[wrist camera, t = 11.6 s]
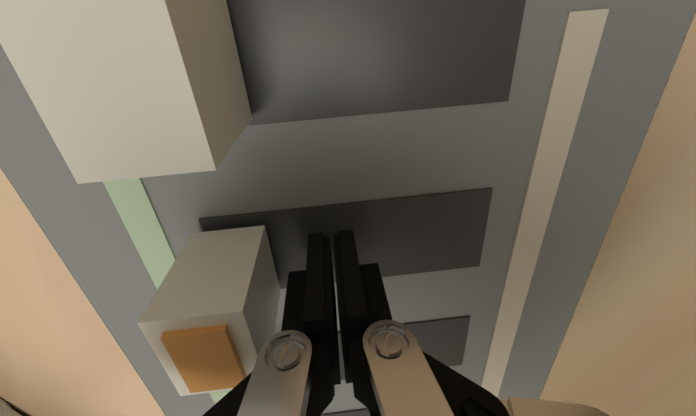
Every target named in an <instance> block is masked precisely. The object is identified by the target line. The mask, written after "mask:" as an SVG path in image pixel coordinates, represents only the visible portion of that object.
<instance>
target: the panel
mask: <svg viewBox="0 0 696 416" xmlns="http://www.w3.org/2000/svg"><path fill="white" fill-rule="evenodd" d="M226 1H227V6H228V11H229V15H230V20H231V24H232V29H233V33H234V38H235V42H236V47H237V51H238V56H239V60H240V65H241V69H242V74H243V78H244V83H245V87H246V92H247V97H248V101H249V106H250V110H251V115H252V120H251V121H250V123H249V124H248V126H247V127H246V128H245V130H244V131H243V133H242V134H241V136H240V137H239V138H238V140H237V141H236V143H235V144H234V145H233V147H232V148H231V150H230V151H229V153H228V154H227V155H226V157H225V158H224V160H223V161H222V163H221V164H220V165H219V167H218V168H217V170H214V171H204V172H194V173H184V174H174V175H164V176H154V177H144V178H134V179H124V180H113V181H103V182H93V183H83V184H77V182H76V180H75V178H74V176H73V175H72V173H71V171H70V169H69V167H68V166H67V164H66V162H65V160H64V158H63V156H62V155H61V153H60V151H59V149H58V147H57V146H56V144H55V142H54V140H53V138H52V137H51V135H50V133H49V131H48V129H47V127H46V126H45V124H44V122H43V120H42V118H41V117H40V115H39V113H38V111H37V109H36V107H35V106H34V104H33V102H32V100H31V98H30V97H29V95H28V93H27V91H26V89H25V88H24V86H23V84H22V82H21V80H20V78H19V77H18V75H17V73H16V71H15V69H14V68H13V66H12V64H11V62H10V60H9V58H8V57H7V55H6V53H5V51H4V49H3V48H2V46H1V44H0V168H1V169H2V171H3V172H4V174H5V175H6V177H7V178H8V180H9V181H10V183H11V184H12V186H13V187H14V189H15V190H16V192H17V193H18V195H19V196H20V198H21V199H22V201H23V202H24V204H25V205H26V207H27V208H28V210H29V211H30V213H31V214H32V216H33V217H34V219H35V220H36V222H37V223H38V225H39V226H40V228H41V229H42V231H43V232H44V234H45V235H46V237H47V238H48V240H49V241H50V243H51V244H52V246H53V247H54V249H55V250H56V252H57V253H58V255H59V256H60V258H61V259H62V261H63V262H64V264H65V265H66V267H67V268H68V270H69V271H70V273H71V274H72V276H73V277H74V279H75V280H76V282H77V283H78V285H79V286H80V288H81V289H82V291H83V292H84V294H85V295H86V297H87V298H88V300H89V301H90V303H91V304H92V306H93V307H94V309H95V310H96V312H97V313H98V315H99V316H100V318H101V319H102V321H103V322H104V324H105V325H106V327H107V328H108V330H109V331H110V333H111V334H112V336H113V337H114V339H115V340H116V342H117V343H118V345H119V346H120V348H121V349H122V351H123V352H124V354H125V355H126V357H127V358H128V360H129V361H130V363H131V364H132V366H133V367H134V369H135V370H136V372H137V373H138V375H139V376H140V378H141V379H142V381H143V382H144V384H145V385H146V387H147V388H148V390H149V391H150V393H151V394H152V396H153V397H154V399H155V400H156V402H157V403H158V405H159V406H160V408H161V409H162V411H163V412H164V414H165V415H166V416H202V415H203V414H205V413H206V412H207V411H208V410H209V409H210V408H211V407H213V406H214V405H215V404H216V403H217V402H218V401H219V400H221V399H222V398H223V397H224V396H225V395H226V394H227V393H228V392H230V391H231V390H226V391H218V392H210V393H202V394H194V395H186V396H180V395H179V393H178V392H177V390H176V388H175V386H174V385H173V383H172V381H171V380H170V378H169V376H168V375H167V373H166V371H165V370H164V368H163V366H162V364H161V363H160V361H159V359H158V358H157V356H156V354H155V353H154V351H153V349H152V347H151V346H150V344H149V342H148V341H147V339H146V337H145V336H144V334H143V332H142V331H141V329H140V327H139V325H138V324H137V323H138V321H139V319H140V318H141V316H142V314H143V313H144V311H145V310H146V308H147V306H148V305H149V303H150V301H151V300H152V298H153V296H154V295H155V293H156V291H157V290H158V288H159V286H160V285H161V283H162V281H163V280H164V278H165V277H166V275H167V273H168V272H169V270H170V268H171V267H172V265H173V263H174V262H175V260H176V258H177V257H178V255H179V253H180V252H181V250H182V248H183V247H184V245H185V243H186V242H187V240H188V239H189V237H190V235H191V234H192V233H197V232H206V231H216V230H225V229H234V228H244V227H253V226H263V225H265V228H266V233H267V237H268V241H269V245H270V249H271V253H272V257H273V261H274V266H275V270H276V274H277V278H278V282H279V286H280V298H279V305H278V312H277V319H276V327H275V334H276V333H279V332H281V328H282V320H283V312H284V304H285V296H286V288H287V280H288V274H289V272H290V271H300V270H306V259H307V241H308V234H312V233H323V236H329V240H330V249H331V259H332V268H333V277H334V286H335V296H336V312H337V328H338V344H339V360H340V377H341V384H338V385H334V387H335V396H333V401H332V402H331V403H330V404H329V405H328V407H327V408H326V409H325V410H324V416H368V414H367V407H366V406H364V405H363V404H362V403H361V402H359V401H358V400H357V399H356V398H355V397H354V391H353V383H347V384H346V381H345V371H344V362H343V353H342V343H341V334H340V325H339V314H338V300H337V285H336V271H335V256H334V242H333V235H339V231H343V230H353V232H354V238H355V243H356V249H357V255H358V261H359V265H360V264H371V263H378V265H379V269H380V272H381V276H382V280H383V284H384V288H385V292H386V296H387V300H388V304H389V308H390V312H391V316H392V320H394V321H398V322H400V323H403V324H404V325H405V326H407V327H408V328H409V329H410V330H411V332H412V333H413V334H414V336H415V338H416V340H417V342H418V344H419V346H420V348H421V350H422V351H423V352H425V353H427V354H428V355H430V356H431V357H433V358H435V359H436V360H438V361H440V362H441V363H443V364H445V365H446V366H448V367H450V368H451V369H453V370H455V371H456V372H458V373H460V374H461V375H463V376H464V377H466V378H468V379H469V380H471V381H473V382H474V383H476V384H478V385H479V386H481V387H483V388H484V389H486V390H488V391H489V392H491V393H492V394H493V395H495V396H496V397H497V398H498V399H505V400H508V398H509V396H512V397H521V398H529V399H537V400H539V397H540V395H541V392H542V390H543V388H544V385H545V383H546V380H547V378H548V375H549V373H550V370H551V368H552V365H553V363H554V360H555V358H556V355H557V353H558V350H559V348H560V346H561V343H562V341H563V338H564V336H565V333H566V331H567V328H568V326H569V323H570V321H571V318H572V316H573V313H574V311H575V308H576V306H577V304H578V301H579V299H580V296H581V294H582V291H583V289H584V286H585V284H586V281H587V279H588V276H589V274H590V271H591V269H592V267H593V264H594V262H595V259H596V257H597V254H598V252H599V249H600V247H601V244H602V242H603V239H604V237H605V234H606V232H607V229H608V227H609V225H610V222H611V220H612V217H613V215H614V212H615V210H616V207H617V205H618V202H619V200H620V197H621V195H622V192H623V190H624V188H625V185H626V183H627V180H628V178H629V175H630V173H631V170H632V168H633V165H634V163H635V160H636V158H637V155H638V153H639V150H640V148H641V146H642V143H643V141H644V138H645V136H646V133H647V131H648V128H649V126H650V123H651V121H652V118H653V116H654V113H655V111H656V109H657V106H658V104H659V101H660V99H661V96H662V94H663V91H664V89H665V86H666V84H667V81H668V79H669V76H670V74H671V71H672V69H673V67H674V64H675V62H676V59H677V57H678V54H679V52H680V49H681V47H682V44H683V42H684V39H685V37H686V34H687V32H688V30H689V27H690V25H691V22H692V20H693V17H694V15H695V12H696V0H226ZM275 334H274V335H275Z"/></svg>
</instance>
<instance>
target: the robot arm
mask: <svg viewBox="0 0 696 416" xmlns="http://www.w3.org/2000/svg"><path fill="white" fill-rule="evenodd" d="M333 242H334V256H335V271H336V285H337V300H338V314H339V325H340V334H341V343H342V353H343V362H344V371H345V381H346V384H347V383H353V391H354V397H355V398H356V399H357V400H358V401H359V402H361V403H362V404H363V405H364V406H366V407H367V414H368V416H609V415H607V414H606V413H604V412H602V411H600V410H599V409H597V408H593V407H590V406H586V405H579V404H571V403H562V402H554V401H546V400H537V399H529V398H521V397H512V396H509V398H508V400H505V399H498V398H497V397H496V396H495V395H493V394H492V393H491V392H489V391H488V390H486V389H484V388H483V387H481V386H479V385H478V384H476V383H474V382H473V381H471V380H469V379H468V378H466V377H464V376H463V375H461V374H460V373H458V372H456V371H455V370H453V369H451V368H450V367H448V366H446V365H445V364H443V363H441V362H440V361H438V360H436V359H435V358H433V357H431V356H430V355H428V354H427V353H425V352H423V351H422V350H421V348H420V346H419V344H418V342H417V340H416V338H415V336H414V334H413V333H412V332H411V330H410V329H409V328H408V327H407V326H405V325H404V324H403V323H400V322H398V321H394V320H392V316H391V312H390V308H389V304H388V300H387V296H386V292H385V288H384V284H383V280H382V276H381V272H380V269H379V265H378V263H371V264H360V265H359V261H358V255H357V249H356V243H355V238H354V232H353V230H343V231H339V235H333ZM338 384H341V377H340V360H339V344H338V328H337V312H336V296H335V286H334V277H333V268H332V259H331V249H330V240H329V236H323V233H312V234H308V241H307V259H306V270H300V271H290V272H289V274H288V280H287V288H286V296H285V304H284V312H283V320H282V328H281V332H279V333H276V334H275V335H273V336H272V337H270V338H269V339H268V340H267V341H266V342H265V343H264V344H263V346H262V348H261V350H260V351H259V354H258V357H257V360H256V363H255V366H254V369H253V371H252V372H251V373H250V374H249V375H248V376H247V377H246V378H244V379H243V380H242V381H241V382H240V383H239V384H238V385H236V386H235V387H234V388H233V389H232V390H231V391H230V392H228V393H227V394H226V395H225V396H224V397H223V398H222V399H221V400H219V401H218V402H217V403H216V404H215V405H214V406H213V407H211V408H210V409H209V410H208V411H207V412H206V413H205V414H203V415H202V416H324V410H325V409H326V408H327V407H328V405H329V404H330V403H331V402H332V401H333V396H335V387H334V385H338Z"/></svg>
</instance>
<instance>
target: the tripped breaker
mask: <svg viewBox="0 0 696 416" xmlns="http://www.w3.org/2000/svg"><path fill="white" fill-rule="evenodd" d="M279 298H280V286H279V282H278V278H277V274H276V270H275V266H274V261H273V257H272V253H271V249H270V245H269V241H268V237H267V233H266V228H265V225H263V226H253V227H244V228H234V229H225V230H216V231H206V232H197V233H192V234H191V235H190V237H189V239H188V240H187V242H186V243H185V245H184V247H183V248H182V250H181V252H180V253H179V255H178V257H177V258H176V260H175V262H174V263H173V265H172V267H171V268H170V270H169V272H168V273H167V275H166V277H165V278H164V280H163V281H162V283H161V285H160V286H159V288H158V290H157V291H156V293H155V295H154V296H153V298H152V300H151V301H150V303H149V305H148V306H147V308H146V310H145V311H144V313H143V314H142V316H141V318H140V319H139V321H138V323H137V324H138V325H139V327H140V329H141V331H142V332H143V334H144V336H145V337H146V339H147V341H148V342H149V344H150V346H151V347H152V349H153V351H154V353H155V354H156V356H157V358H158V359H159V361H160V363H161V364H162V366H163V368H164V370H165V371H166V373H167V375H168V376H169V378H170V380H171V381H172V383H173V385H174V386H175V388H176V390H177V392H178V393H179V395H180V396H186V395H194V394H202V393H210V392H218V391H226V390H232V389H233V388H234V387H235V386H236V385H238V384H239V383H240V382H241V381H242V380H243V379H244V378H246V377H247V376H248V375H249V374H250V373H251V372H252V371H253V369H254V366H255V363H256V360H257V357H258V354H259V351H260V350H261V348H262V346H263V344H264V343H265V342H266V341H267V340H268V339H269V338H270V337H272V336H273V335H274V334H275V327H276V319H277V312H278V305H279Z"/></svg>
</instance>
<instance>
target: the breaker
mask: <svg viewBox="0 0 696 416" xmlns="http://www.w3.org/2000/svg"><path fill="white" fill-rule="evenodd" d="M0 44H1V46H2V48H3V49H4V51H5V53H6V55H7V57H8V58H9V60H10V62H11V64H12V66H13V68H14V69H15V71H16V73H17V75H18V77H19V78H20V80H21V82H22V84H23V86H24V88H25V89H26V91H27V93H28V95H29V97H30V98H31V100H32V102H33V104H34V106H35V107H36V109H37V111H38V113H39V115H40V117H41V118H42V120H43V122H44V124H45V126H46V127H47V129H48V131H49V133H50V135H51V137H52V138H53V140H54V142H55V144H56V146H57V147H58V149H59V151H60V153H61V155H62V156H63V158H64V160H65V162H66V164H67V166H68V167H69V169H70V171H71V173H72V175H73V176H74V178H75V180H76V182H77V184H83V183H93V182H103V181H113V180H124V179H134V178H144V177H154V176H164V175H174V174H184V173H194V172H204V171H214V170H217V168H218V167H219V165H220V164H221V163H222V161H223V160H224V158H225V157H226V155H227V154H228V153H229V151H230V150H231V148H232V147H233V145H234V144H235V143H236V141H237V140H238V138H239V137H240V136H241V134H242V133H243V131H244V130H245V128H246V127H247V126H248V124H249V123H250V121H251V120H252V115H251V110H250V106H249V101H248V97H247V92H246V87H245V83H244V78H243V74H242V69H241V65H240V60H239V56H238V51H237V47H236V42H235V38H234V33H233V29H232V24H231V20H230V15H229V11H228V6H227V1H226V0H0Z"/></svg>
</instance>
